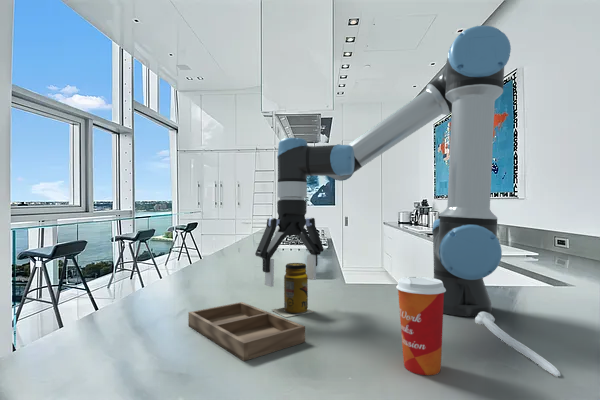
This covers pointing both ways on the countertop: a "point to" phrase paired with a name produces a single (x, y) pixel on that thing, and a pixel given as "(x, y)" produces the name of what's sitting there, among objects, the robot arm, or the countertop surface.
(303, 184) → the robot arm
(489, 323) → the white nail
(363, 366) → the countertop surface
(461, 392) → the countertop surface
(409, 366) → the paper cup
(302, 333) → the caddy
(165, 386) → the countertop surface
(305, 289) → the condiment
